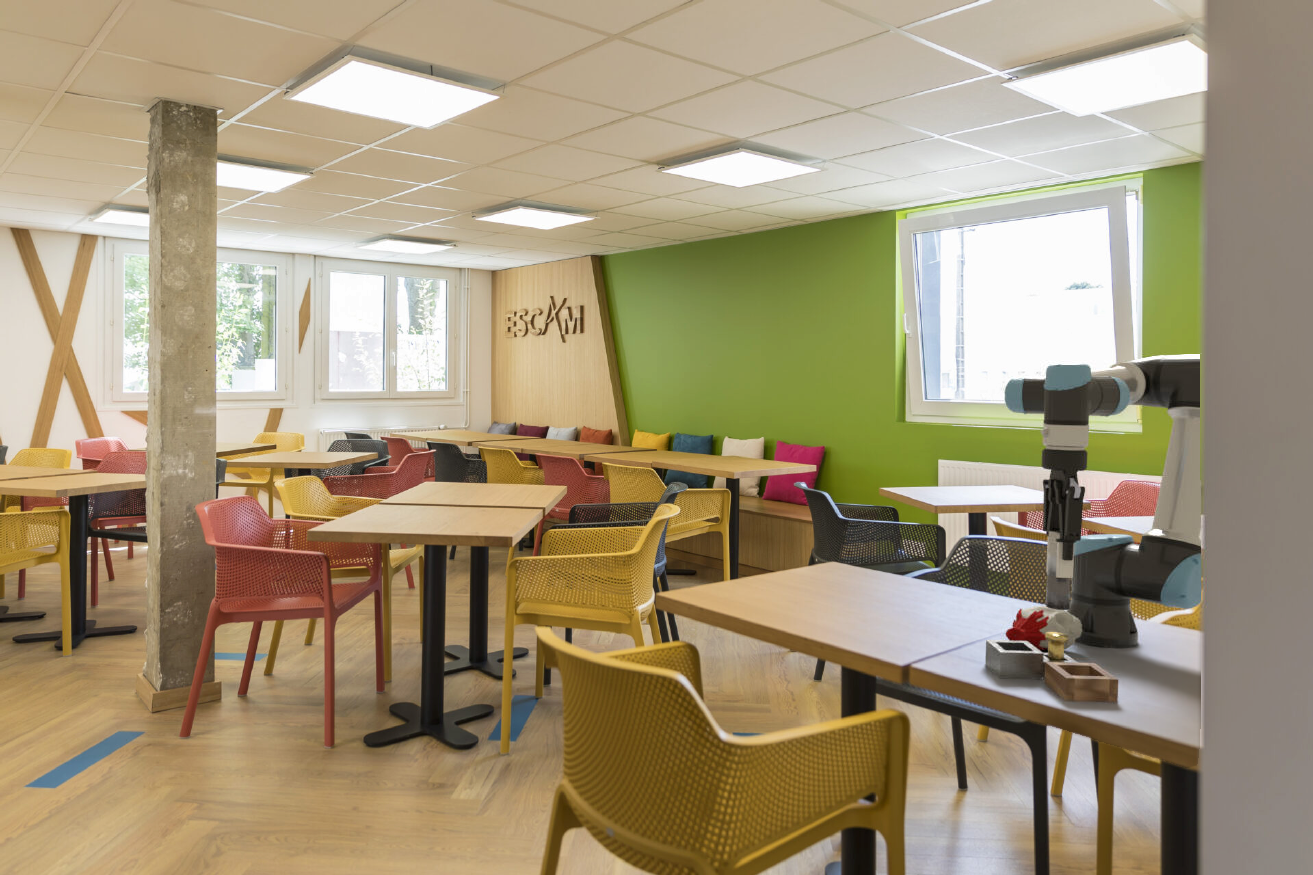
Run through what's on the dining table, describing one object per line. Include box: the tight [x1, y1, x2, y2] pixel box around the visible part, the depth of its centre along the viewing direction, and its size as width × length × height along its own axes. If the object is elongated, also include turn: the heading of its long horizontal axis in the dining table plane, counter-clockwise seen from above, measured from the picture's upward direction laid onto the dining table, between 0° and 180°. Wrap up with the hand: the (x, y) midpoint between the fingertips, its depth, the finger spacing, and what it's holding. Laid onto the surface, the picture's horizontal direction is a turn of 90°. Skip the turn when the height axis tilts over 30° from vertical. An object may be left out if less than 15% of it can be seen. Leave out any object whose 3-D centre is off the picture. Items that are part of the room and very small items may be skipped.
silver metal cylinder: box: [1045, 530, 1072, 611], centre depth 157 cm, size 4×4×14 cm
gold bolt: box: [1045, 632, 1068, 661], centre depth 165 cm, size 4×4×7 cm
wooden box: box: [1044, 662, 1119, 703], centre depth 154 cm, size 9×9×4 cm
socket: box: [984, 639, 1079, 680], centre depth 165 cm, size 15×8×5 cm, turn 88°
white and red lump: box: [1005, 605, 1082, 651], centre depth 181 cm, size 9×11×15 cm
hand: (1059, 574), depth 157 cm, fingers closed on silver metal cylinder, 4 cm apart
